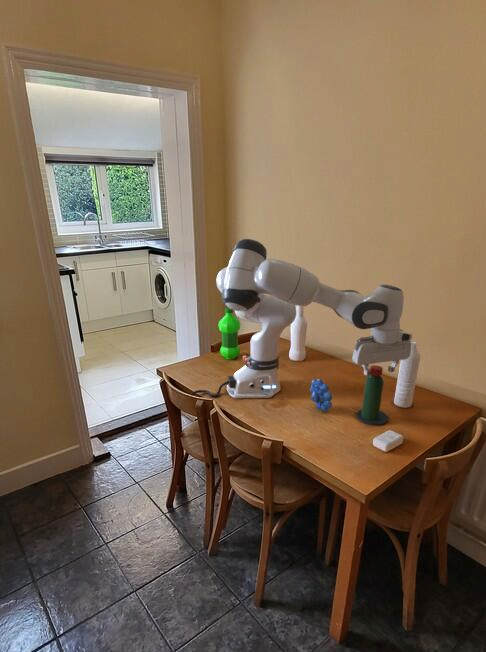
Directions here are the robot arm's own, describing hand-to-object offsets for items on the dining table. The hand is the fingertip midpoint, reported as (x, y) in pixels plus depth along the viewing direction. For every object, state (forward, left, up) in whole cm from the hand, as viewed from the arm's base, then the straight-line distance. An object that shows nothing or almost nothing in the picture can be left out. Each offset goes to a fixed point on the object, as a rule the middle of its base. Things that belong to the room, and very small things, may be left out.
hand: (378, 373), depth 141 cm
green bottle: (-1, 0, -17) cm, 17 cm away
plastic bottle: (-39, +71, -18) cm, 83 cm away
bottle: (-7, +62, -18) cm, 65 cm away
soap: (-4, -17, -18) cm, 25 cm away
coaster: (0, 0, -18) cm, 18 cm away
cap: (-1, 0, +2) cm, 2 cm away
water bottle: (+16, +8, -18) cm, 25 cm away
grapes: (-17, +10, -18) cm, 27 cm away
